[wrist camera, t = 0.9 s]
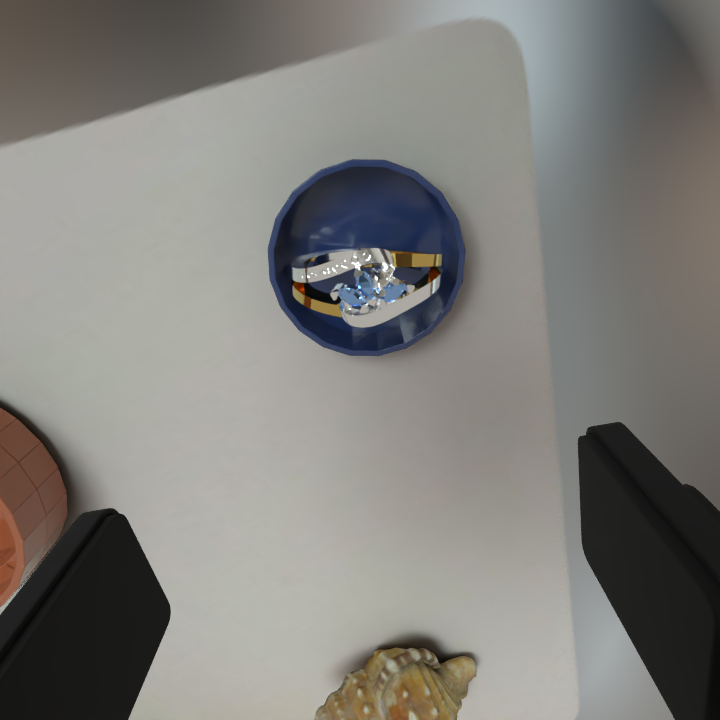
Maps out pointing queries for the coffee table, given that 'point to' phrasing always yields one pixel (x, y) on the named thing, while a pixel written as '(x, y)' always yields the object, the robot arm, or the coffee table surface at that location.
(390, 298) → the ring
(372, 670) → the seashell
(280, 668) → the coffee table surface
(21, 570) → the bowl
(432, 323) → the blue round dish
